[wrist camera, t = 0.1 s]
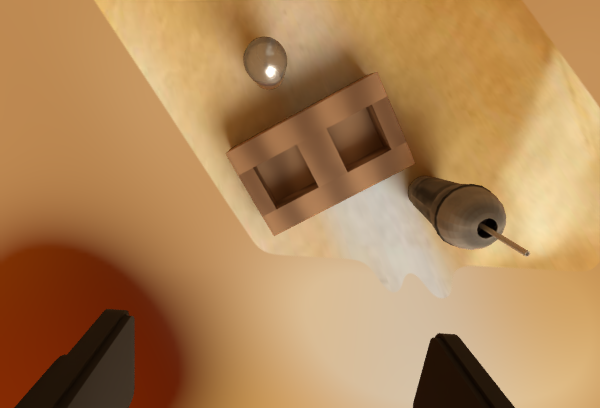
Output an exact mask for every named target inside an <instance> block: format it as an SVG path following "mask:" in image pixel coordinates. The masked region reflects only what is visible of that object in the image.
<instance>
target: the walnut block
mask: <svg viewBox="0 0 600 408" xmlns="http://www.w3.org/2000/svg"><path fill="white" fill-rule="evenodd" d="M226 155H227V157H228V159H229V160H230V162H231V164H232V165H233V167H234V169H235V171H236V172H237V174H238V176H239V177H240V179H241V181H242V182H243V184H244V186H245V188H246V189H247V191H248V193H249V194H250V196H251V198H252V200H253V201H254V203H255V205H256V206H257V208H258V210H259V211H260V213H261V215H262V217H263V218H264V220H265V222H266V223H267V225H268V227H269V228H270V230H271V232H272V234H273V235H274V236H275V235H277V234H279V233H281V232H283V231H285V230H287V229H289V228H291V227H293V226H295V225H297V224H299V223H301V222H303V221H305V220H306V219H308V218H310V217H312V216H314V215H316V214H318V213H320V212H322V211H324V210H326V209H328V208H330V207H332V206H334V205H336V204H338V203H340V202H342V201H343V200H345V199H347V198H349V197H351V196H353V195H355V194H357V193H359V192H361V191H363V190H365V189H367V188H369V187H371V186H373V185H375V184H377V183H379V182H380V181H382V180H384V179H386V178H388V177H390V176H392V175H394V174H396V173H398V172H400V171H402V170H404V169H406V168H408V167H410V166H412V165H414V164H415V161H414V159H413V157H412V154H411V152H410V149H409V147H408V145H407V142H406V140H405V137H404V135H403V133H402V130H401V128H400V125H399V123H398V121H397V118H396V116H395V113H394V111H393V109H392V106H391V104H390V102H389V99H388V97H387V94H386V92H385V90H384V87H383V85H382V82H381V80H380V78H379V75H378V73H377V72H375V73H372V74H369V75H367V76H365V77H363V78H361V79H359V80H357V81H355V82H353V83H352V84H350V85H348V86H346V87H344V88H342V89H340V90H339V91H337V92H335V93H333V94H331V95H329V96H328V97H326V98H324V99H322V100H320V101H318V102H316V103H315V104H313V105H311V106H309V107H307V108H305V109H303V110H302V111H300V112H298V113H296V114H294V115H292V116H291V117H289V118H287V119H285V120H283V121H281V122H279V123H278V124H276V125H274V126H272V127H270V128H268V129H266V130H265V131H263V132H261V133H259V134H257V135H255V136H254V137H252V138H250V139H248V140H246V141H244V142H242V143H241V144H239V145H237V146H235V147H233V148H231V149H230V150H229V151H228V152H227V153H226Z"/></svg>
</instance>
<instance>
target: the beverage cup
mask: <svg viewBox="0 0 600 408" xmlns="http://www.w3.org/2000/svg"><path fill="white" fill-rule="evenodd" d="M408 197H409V199H410V201H411V202H412V203H413V205H414V206H415V207H416V208H417V209H418V210H419V211H420V212H421V213H422V214H423V215H424V216H425V217H426V218H427V219H428V221H429V222H430V223H431V224H432V225H433V227H434V228H435V230H436V231H437V234H438V235H439V236H440V237H441V238H442V240H443V241H445V242H447V243H449V244H450V245H453V246H456V247H458V248H463V249H470V250H473V249H480V248H484V247H486V246H489V245H491V244H492V243H494V242H495V241H496V240H497V239H499V240H500V241H502V242H503V243H505V244H507V245H508V246H510V247H511V248H513V249H515V250H516V251H518V252H519V253H521V254H523V255H524V256H529V255H530V252H529V251H527V250H526V249H524V248H522V247H521V246H519V245H517V244H516V243H514V242H512V241H511V240H509V239H507V238H506V237H504V236H502V235H501V234H502V233H503V230H504V228H505V225H506V214H505V211H504V207H503V205H502V203H501V202H500V201H499V200H498V198H497V197H496V196H495V195H494V194H492V193H491V192H490V191H489V190H488V189H486V188H484V187H483V186H480V185H474V184H458V183H454V182H451V181H447V180H443V179H439V178H435V177H429V176H421V177H419V178H417V179H415V180H414V181H413V182H412V183H411V185H410V186H409V190H408Z"/></svg>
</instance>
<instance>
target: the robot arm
mask: <svg viewBox="0 0 600 408" xmlns="http://www.w3.org/2000/svg"><path fill="white" fill-rule="evenodd" d="M133 394H134V317H133V316H129V313H128V311H126V310H113V309H106V310H105V311H104V312H103V313H102V314H101V316H100V317H99V318H98V319H97V320H96V321H95V323H94V324H93V325H92V326H91V327H90V328H89V330H88V331H87V332H86V333H85V334H84V335H83V337H82V338H81V339H80V340H79V341H78V343H77V344H76V345H75V346H74V347H73V348H72V350H71V351H70V352H69V353H68V354H67V355H62V356H60V357H59V358H58V359H57V360H56V361H55V362H54V363H53V364H52V365H51V366H50V368H49V369H48V370H47V371H46V372H45V373H44V374H43V375H42V377H41V378H40V379H39V380H38V381H37V382H36V383H35V385H34V386H33V387H32V388H31V389H30V390H29V392H28V393H27V394H26V395H25V396H24V397H23V398H22V399H21V401H20V402H19V403H18V404H17V405H16V407H15V408H128V407H129V405H130V403H131V401H132V398H133ZM413 408H515V407H514V406H513V405H512V404H511V402H510V401H509V400H508V399H507V398H506V396H505V395H504V393H503V392H502V391H501V390H500V388H499V387H498V386H497V385H496V383H495V382H494V381H493V380H492V378H491V377H490V376H489V374H488V373H487V372H486V371H485V369H484V368H483V367H482V366H481V364H480V363H479V362H478V361H477V359H476V358H475V357H474V355H473V354H472V353H471V352H470V351H469V349H468V348H467V347H466V345H465V344H464V343H463V342H462V340H461V339H460V338H459V337H458V336H457V335H455V334H440V333H439V334H437V335H436V336H435V338H432V339H431V340H430V344H429V347H428V351H427V355H426V358H425V362H424V366H423V370H422V373H421V377H420V381H419V384H418V388H417V392H416V395H415V399H414V403H413Z"/></svg>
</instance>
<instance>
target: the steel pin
mask: <svg viewBox="0 0 600 408" xmlns="http://www.w3.org/2000/svg"><path fill="white" fill-rule="evenodd" d="M244 66H245V69H246V71H247V73H248V74H249V75H250V77H251V78H252V79H253V80H254V81H255V82H256V83H257V85H259V86H260V87H261V88H263V89H267V90H271V89H275V88H277V87H278V86H279V85H280V84H281V83H282V81H283V79H284V75H285V70H286V66H287V56H286V52H285V50H284V48H283V47H282V45H281V44H280V43H279V42H278V41H276V40H275V39H272V38H269V37H260V38H257V39H255V40H253V41H252V42H251V43H250V44H249V45H248V46H247V48H246V50H245V53H244Z"/></svg>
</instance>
